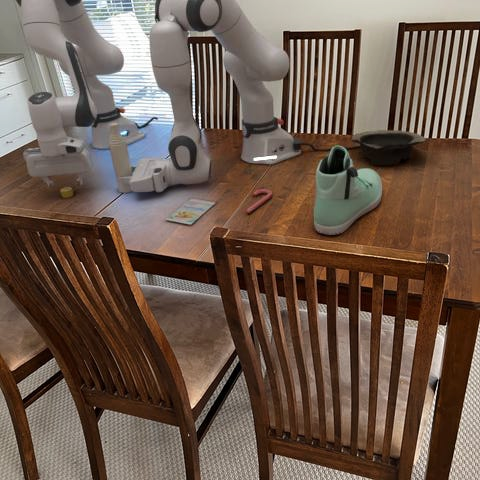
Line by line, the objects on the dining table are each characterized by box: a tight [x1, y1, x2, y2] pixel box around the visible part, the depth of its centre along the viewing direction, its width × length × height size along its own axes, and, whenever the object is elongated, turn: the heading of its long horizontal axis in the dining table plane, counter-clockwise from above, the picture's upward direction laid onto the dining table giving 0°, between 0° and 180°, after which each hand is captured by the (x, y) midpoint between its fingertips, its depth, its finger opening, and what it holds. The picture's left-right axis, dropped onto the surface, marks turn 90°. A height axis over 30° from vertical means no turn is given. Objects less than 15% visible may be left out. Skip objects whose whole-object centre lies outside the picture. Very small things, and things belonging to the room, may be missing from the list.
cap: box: [59, 186, 75, 199], centre depth 160 cm, size 4×4×2 cm
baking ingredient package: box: [164, 198, 216, 226], centre depth 144 cm, size 9×1×15 cm
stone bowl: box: [351, 129, 427, 166], centre depth 167 cm, size 25×25×9 cm
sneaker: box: [313, 145, 383, 236], centre depth 133 cm, size 14×35×20 cm, turn 152°
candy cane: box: [245, 188, 273, 215], centre depth 146 cm, size 6×15×2 cm, turn 145°
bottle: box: [109, 123, 134, 194], centre depth 156 cm, size 6×6×22 cm
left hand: (66, 185), depth 159 cm, fingers open, 8 cm apart
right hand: (121, 175), depth 159 cm, fingers closed on bottle, 5 cm apart
